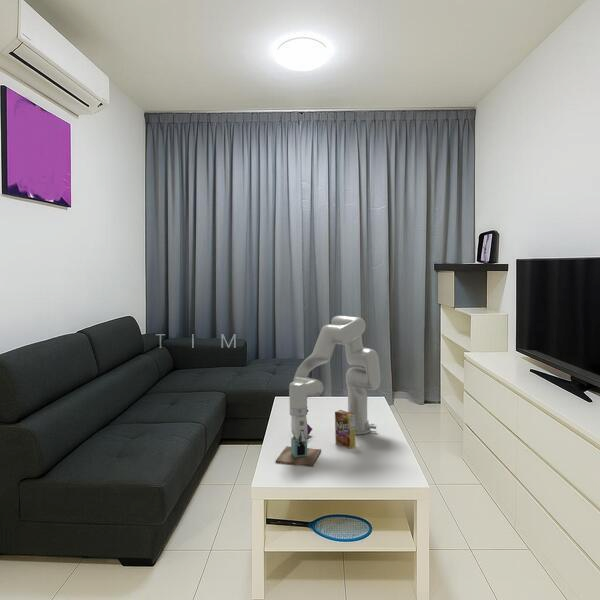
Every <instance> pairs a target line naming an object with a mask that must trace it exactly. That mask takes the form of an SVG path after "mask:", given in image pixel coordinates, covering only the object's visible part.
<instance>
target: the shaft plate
mask: <svg viewBox="0 0 600 600" xmlns="http://www.w3.org/2000/svg"><path fill="white" fill-rule="evenodd" d="M321 453H322V449H321V448H312V447H311V448H308V447H307V456H302V457H294V456H293V454H292V453H291V446H290V445H289V446H288V445H287V446H285V447H284V449H283V450H282V452H281V453H280V454H279V456H278V457H277V458H276V459H275V460H274V462H275V464H280V463H281V464H282V465H291V466H300V467H301V466H302V467H311V468H312V467H314V466H315V464H316V463H317V460H318V458H319V457H320V455H321Z"/></svg>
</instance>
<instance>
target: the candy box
mask: <svg viewBox="0 0 600 600" xmlns="http://www.w3.org/2000/svg"><path fill="white" fill-rule="evenodd" d="M334 429H335V430H334V433H335V435H334V437H335V438H334V439H335V444H336V445H338V446H339V445H340V446H343V447H345V448H348V449H352V448H355V447H356V434H355V414H353V413H350V412H348V411H345V410H342V409H339V410H335V411H334Z"/></svg>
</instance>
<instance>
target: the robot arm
mask: <svg viewBox="0 0 600 600" xmlns="http://www.w3.org/2000/svg"><path fill="white" fill-rule="evenodd" d="M366 326H367V324H366V322H365V320H364V319H363V318H362V317H359V316H348V315H336V316H334V317H332V319H331V324H325V325H324V326H322V327H321V329H320V332H319V335H318V337H317V340H316V343H315V344H314V348H313V350H312V353H311V354H310V355H309V356H307V357H306V358H305V359H304V360H303V361H302V362H301V363H300V365H298V367H297V369H296V372H295V373H294V377H293V379H292V382H290V383H289V387H288V390H289V392H288V393H289V394H288V395H289V396H288V397H289V398H288V399H289V400H288V401H289V415H290V416H291V417H290V418H291V420H290V422H291V423H290V428H291V430H292V431H291V433H292V436H293V437H292V439H294V438H296V439H297V440H298V446H297V455H305V440H306V439H309V435H308V429H307V424H308V420H307V415H308V412H307V410H308V408H307V407H308V398H315V397H316V398H317V397H319V396H320V395H321V394H322V393H323V392H324V384H323V381H321V380H319V379H317V378H316V379H315V378H312V377H308V376H309V374H310V372H311V371H312V370H313V369H315V368H317V367H318V366H321V365H324V364H326V363H329V362H330V361H331V358H332V356H333V352H334V351H335V347H336V345H343V346H344V347H345V348H344V349H345V356H346V361H347V363H348V365H350V366H353V367H349V369H347V371H346V373H345V382H346V388H347V412H350V413H353V414H355V435H366V434H368V433H370V432H371V429H372V430H377V424H375V423H370V422H369V419H368V393H367V390H369V391H375V390H377V389H378V388H380V384H381V368H380V359H379V355H378V352H377V351H376V350H375V349H373V348H369V347H364V345H363V341H362V340H363V339H362V335H363V334H364V332H365V331H366ZM300 437H301V438H300ZM299 438H300V439H299ZM299 440H301V441H299Z"/></svg>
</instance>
